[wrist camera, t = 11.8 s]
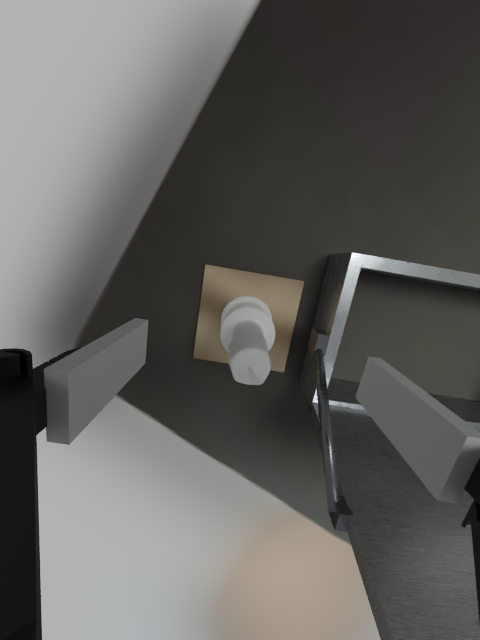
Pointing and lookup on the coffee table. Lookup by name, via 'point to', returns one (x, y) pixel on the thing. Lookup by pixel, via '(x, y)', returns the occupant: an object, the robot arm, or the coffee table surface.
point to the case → (389, 479)
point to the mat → (236, 283)
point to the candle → (248, 339)
